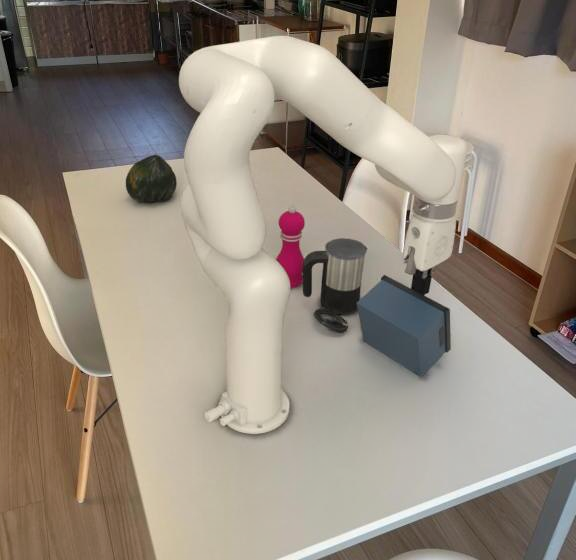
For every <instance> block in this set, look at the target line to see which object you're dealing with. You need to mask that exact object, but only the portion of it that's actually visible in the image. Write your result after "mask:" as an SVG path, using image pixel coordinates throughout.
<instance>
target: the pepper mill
mask: <svg viewBox="0 0 576 560" xmlns="http://www.w3.org/2000/svg"><path fill="white" fill-rule="evenodd" d="M305 221H306V220H305V217H304V216H303V214H302V213H301V212H298V211H297V208H296V206H294V205H290V206H289V207H288V209H287V211H284V212H283V213H282V214H281V215H280V216H279V218H278V227H279V229H280V239H281V241H282V242H281V243H282V244H281V245H282V246H281V249H280V251H279V253H278V255H277V256H276V258H275V259H276V260H277V261H278V262H279V264H280V265H281V266H282V267H283V269H284V270H285V271H286V273H287V275H288V277H289V281H290V289H293V288H297V287H299V286H301V285H302V284H303V268H302V266H303V260H304V258H305V257H304V255H303V254H302V251H301V248H300V241H301V240H302V238H303V230H304V228H305V226H306V225H305V224H306V223H305Z"/></svg>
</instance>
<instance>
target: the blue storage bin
mask: <svg viewBox="0 0 576 560" xmlns="http://www.w3.org/2000/svg"><path fill="white" fill-rule="evenodd" d="M357 309H358V310H357V313H358V318H359V325H360V330H361V335H362V340H363V342H364V343H366V344H367V345H369V346H371V347H372V348H374V349H375V350H377V351H379V352H380V353H382V354H383V355H385V356H387V357H388V358H390V359H391V360H393V361H394V362H396V363H397V364H399V365H401V366H402V367H404V368H406V369H407V370H409V371H410V372H412V373H413V374H415V375H417V376H418V377H419V378H422V377H423V376H424V375H425V374H426V373H427V372H428V371H429V370H430V369H431V368H433V366H434V365H435V364H436V363H437V362H438V361H439V360H440V359H441V358H442V357H443V356H444V354H448V353H449V352H450V351H451V350H452V343H451V342H452V339H451V335H452V334H451V309H450V308H449V307H447V306H445V305H443V304H441V303H439V302H437V301H435V300H434V299H432V298H430V297H428V296H426V295H422V294H420V293H418V292H417V291H415V290H413V289H411V287H409V286H407V285H405V284H403V283H402V282H399V281H398V280H396V279H393V278H392V277H390V276H388V275H386V274H383V275H382V276H381V277H380V281H379V282H378V283H376V285H375V286H373V287H372V288H371V289H370V290H369V291H368V292H367V293H365V295H363V296H362V297H360V300H359V301H358V302H357Z"/></svg>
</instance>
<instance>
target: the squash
mask: <svg viewBox="0 0 576 560" xmlns="http://www.w3.org/2000/svg"><path fill="white" fill-rule="evenodd" d="M177 184H178V183H177V176H176V173H175V172H174V171H173V168H172V166H171V165H170V164H169V163H168V162H167V161H166V160H165V159H164V158H163V157H162V156H161V155H159V154H153V155H149V156H147V157H144V158H142V159H141V160H139V161H137V162H135V163H134V164H133V165H132V166H131V168H130V169H129V171H128V172H127V175H126V177H125V190H126V192H127V194H128V195H129V197H131V198H132V199H133V200H135V201H137V202H138V203H146V202H148V203H154V202H167V201H169V200H170V199H172V197H173V194H174V193H175V191H176V189H177Z"/></svg>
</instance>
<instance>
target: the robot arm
mask: <svg viewBox="0 0 576 560" xmlns="http://www.w3.org/2000/svg"><path fill="white" fill-rule="evenodd" d="M178 86H179V91H180V93H181V95H182V98H183V99H184V100H185V102H186V103H187V104H188V105H189V106H190V107H191V108H192V109H194V111H196V112H198V113H199V115H198V117H197V119H196V120H195V122H194V124H193V126H192V128H191V130H190V133H189V135H188V138H187V140H186V143H185V147H184V151H183V152H184V153H183V166H184V169H185V170H184V171H185V174H186V178H187V180H188V183H187V185H186V186H185V188H184V189H183V192H182V194H181V197H180V205H179V206H180V207H179V208H180V215H181V219H182V222H183V225H184V228H185V230H186V232H187V236H188V238H189V240H190V242H191V246H193V250H194V252H195V255H196V258H197V260H198V262H199V264H200V266H201V268H202V270H203V272H204V273H205V275H206V276H207V277H208V279H210V281H211V282H212V283H213V284H214V285H215V286H216V287H217V288H218V289H219V291H220V292H221V293H222V294H223V296H224V297H225V298H226V300H227V302H228V304H229V313H228V316H227V317H226V321H225V326H224V342H225V364H226V365H225V366H226V390H225V391H224V392H223V393H221V397H220V400H219V402H218V405H216V406H214V407H212V408H210V409H208V410H207V411H205V412H204V415H203V416H204V418H205V420H206V421H207V422H208V423H209V424H211V423H212V422H214V421H215V420H217V419H219V423H220V425H221V426H222V427H225V426H226V425H227V426H228V427H229V428H230V429H232V430H234V431H237V432H239V433H242V434H249V435H257V434H264V433H268V432H272V431H274V430H276V429H278V428H279V427H280V426H281V425H283V424H284V422H286V420H287V418H288V416H289V414H290V409H291V408H290V404H291V403H290V399H289V396H288V395H287V393H286V392H285V391H284V390H283V389H282V386H283V384H282V383H283V353H284V352H283V351H284V325H285V324H284V323H285V316H286V311H287V307H288V303H289V299H290V295H291V288H290V281H289V277H288V275H287V273H286V271H285V270H284V269H283V267H282V266H281V265H280V264H279V262H278V261H277V260H276V259H277V258H274V257H273V256H272V255H271V254H270V253H269V252H268V251H267V250H266V249H264V248H263V246H264V244H265V242H266V238H267V222H266V219H265V218H266V217H265V214H264V211H263V208H262V205H261V201H260V198H259V194H258V192H257V188H256V185H255V180H254V178H253V173H252V169H251V163H250V154H251V151H252V147H253V145H254V143H255V141H256V139H257V138H258V136H259V135H260V133H261V131H262V130H263V129H264V127H265V126H266V124H267V123H268V121H269V120H270V117H271V115H272V113H273V110H274V106H275V98H276V99H278V100H281V101H283V102H285V103H286V104H289V105H291V106H292V107H294V108H295V109H296V110H298V111H299V112H300V113H301V114H303V115H304V116H305V117H306V118H308V119H309V120H310V122H312V123H314V124H315V125H316V126H318V127H319V128H320V129H321V130H323V131H324V132H325V133H326V134H328V136H330V137H331V138H332V139H333V140H334V141H336V142H337V143H338V144H340V145H341V146H342V147H344V148H345V149H347V150H348V151H350V152H351V153H353V154H355V155H356V156H357V157H360V158H361V159H363V160H365V161H368V162H370V163H372V164H374V167H375V170H376V172H377V174H378V175H379V176H380V177H381V178H382V179H383V180H385V181H387V182H389V184H392V185H394V186H396V187H398V188H400V189H402V190H404V191H405V192H407V193H410V194H411V195H413V196H414V197H413V204H412V209H411V210H412V211H411V212H412V214H411V217H410V220H409V223H408V227H407V230H406V235H405V239H404V245H403V249H402V250H403V251H402V262H403V263H404V264H406V265H405V268H404V273H405V274H408V275H409V276H412V279H411V284H410V288H411V289H413V290H415V291H417V292H418V293H420V294H422V295H424V296H426V295H427V294H429V293H430V288H431V285H432V278H433V277H432V276H433V275H434V274H435V271H436V267H437V265H440V264H442V263H443V262H445V261H446V260H448V259H449V258H451V256H452V253H453V250H454V243H455V238H456V237H455V236H456V227H457V206H458V201H459V195H460V191H461V185H462V181H463V176H464V171H465V166H466V160H467V155H468V145H467V143H466V142H465V140H464V139H462V138H460V137H458V136H455V135H450V134H432V135H430V136H429V135H427V134H426V133H424V132H423V131H422V130H420V129H419V128H418V127H416V126H415V125H414V124H413V123H411V122H410V121H408V120H407V119H406V118H404V117H403V116H402V115H401V114H400V113H398V111H396V110H395V109H394V108H392V106H389V105H388V104H387V103H385V102H384V101H382V100H381V99H380V98H379V97H378V96H377V95H376V94H375V93H373V92H372V90H370V89H369V88H368V86H366V85H365V83H363V82H362V81H361V80H360V79H359V78H358V77H357V76H356V75H355V74H354V73H353V72H352V71H351V70H350V69H349V68H348V67H347V66H346V65H345V64H344V63H343V62H341V60H340V59H339V58H338V57H336V55H334V54H333V53H332V52H331V51H329V50H328V49H327V48H325V47H324V46H322V45H319V44H316V43H314V42H313V43H312V42H310V41H306V40H304V39H299V38H297V37H294V36H289V35H273V36H266V37H261V38H253V39H247V40H242V41H236V42H230V43H223V44H217V45H209V46H204V47H202V48H200V49H198V50H195V51H193V53H191V54H189V56H188V57H187V58H186V59H185V60H184V61H183V63H182V65H181V67H180V70H179V75H178Z"/></svg>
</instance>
